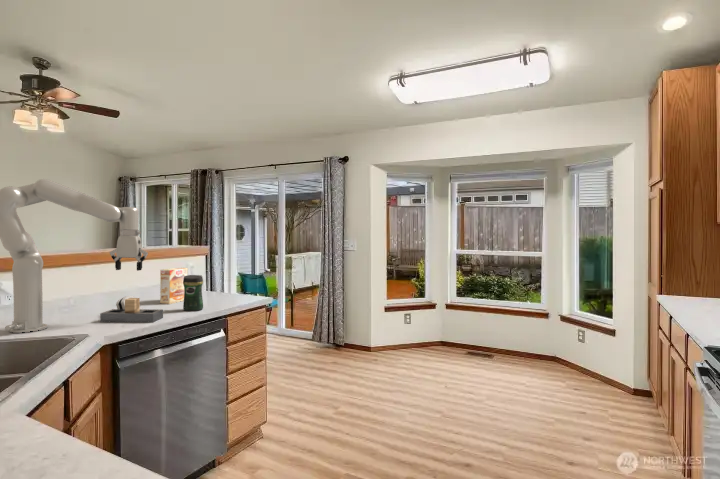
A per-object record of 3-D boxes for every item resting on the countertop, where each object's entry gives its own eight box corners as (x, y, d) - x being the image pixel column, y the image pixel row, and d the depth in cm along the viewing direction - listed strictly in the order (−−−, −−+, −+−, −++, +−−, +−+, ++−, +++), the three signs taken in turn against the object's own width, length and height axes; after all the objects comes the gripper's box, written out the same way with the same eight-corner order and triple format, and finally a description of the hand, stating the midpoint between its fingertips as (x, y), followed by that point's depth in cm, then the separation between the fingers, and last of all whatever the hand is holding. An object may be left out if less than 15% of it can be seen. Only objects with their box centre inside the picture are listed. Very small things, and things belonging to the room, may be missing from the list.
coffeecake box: (169, 304, 238) (169, 270, 237) (159, 303, 240) (159, 269, 240) (188, 300, 252) (188, 267, 252) (178, 299, 254) (178, 267, 254)
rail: (153, 322, 192) (153, 313, 192) (100, 322, 192) (100, 313, 192) (163, 317, 202) (163, 309, 202) (112, 317, 202) (112, 309, 202)
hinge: (130, 316, 204) (123, 297, 203) (121, 320, 203) (113, 301, 202) (143, 310, 220) (136, 292, 219) (134, 313, 219) (127, 295, 219)
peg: (134, 321, 195) (134, 299, 195) (124, 320, 195) (124, 299, 195) (139, 318, 199) (139, 298, 199) (130, 318, 199) (130, 297, 199)
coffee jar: (205, 308, 226) (205, 274, 226) (199, 311, 218) (199, 276, 218) (187, 308, 227) (187, 274, 226) (180, 311, 219) (180, 275, 218)
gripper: (151, 233, 200) (151, 269, 200) (115, 233, 200) (114, 269, 200) (143, 234, 192) (143, 271, 193) (105, 233, 192) (105, 270, 193)
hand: (128, 270), depth 196 cm, fingers open, 9 cm apart
